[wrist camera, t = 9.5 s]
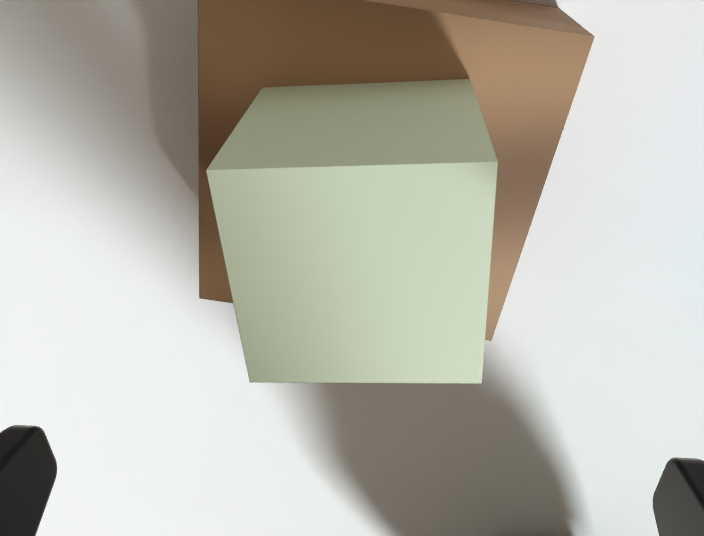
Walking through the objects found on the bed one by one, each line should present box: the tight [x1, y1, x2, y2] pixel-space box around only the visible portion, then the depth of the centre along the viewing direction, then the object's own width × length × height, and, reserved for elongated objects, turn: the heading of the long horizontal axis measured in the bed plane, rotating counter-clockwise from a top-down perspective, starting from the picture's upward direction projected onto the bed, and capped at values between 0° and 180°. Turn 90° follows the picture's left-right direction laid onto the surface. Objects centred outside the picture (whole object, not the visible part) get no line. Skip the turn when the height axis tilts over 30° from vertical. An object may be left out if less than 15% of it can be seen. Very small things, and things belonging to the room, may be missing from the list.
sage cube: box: [206, 79, 498, 383], centre depth 14 cm, size 5×5×5 cm
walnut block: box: [198, 0, 594, 341], centre depth 18 cm, size 9×9×4 cm
